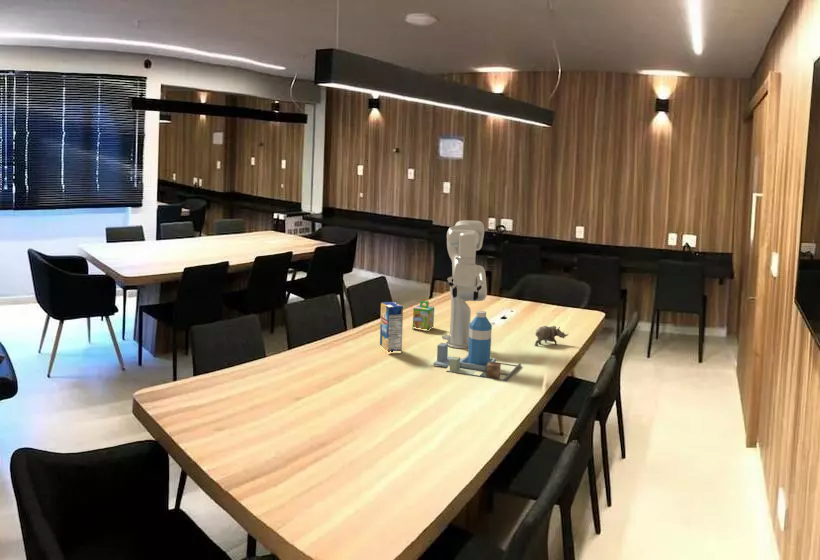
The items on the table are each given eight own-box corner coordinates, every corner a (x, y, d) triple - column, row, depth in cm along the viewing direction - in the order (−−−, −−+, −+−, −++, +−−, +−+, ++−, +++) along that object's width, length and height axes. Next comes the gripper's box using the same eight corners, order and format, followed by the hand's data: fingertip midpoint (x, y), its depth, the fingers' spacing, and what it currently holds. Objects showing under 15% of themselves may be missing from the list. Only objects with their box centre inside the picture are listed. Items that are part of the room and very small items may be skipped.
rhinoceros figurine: (524, 337, 336) (543, 313, 335) (543, 351, 341) (562, 328, 340) (530, 343, 328) (550, 318, 327) (550, 357, 333) (569, 333, 332)
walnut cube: (486, 376, 276) (487, 364, 275) (487, 373, 280) (488, 361, 280) (498, 378, 274) (499, 366, 274) (500, 374, 279) (500, 362, 278)
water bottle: (478, 373, 284) (481, 315, 280) (463, 367, 291) (465, 311, 287) (494, 369, 290) (497, 312, 286) (478, 364, 297) (481, 308, 293)
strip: (448, 373, 282) (448, 359, 281) (453, 369, 288) (453, 355, 287) (472, 377, 278) (472, 362, 277) (476, 373, 283) (477, 359, 282)
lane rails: (445, 374, 281) (446, 369, 281) (463, 360, 302) (464, 355, 302) (506, 384, 271) (506, 378, 271) (520, 369, 292) (521, 363, 291)
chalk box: (412, 329, 355) (412, 302, 353) (417, 326, 364) (418, 299, 362) (428, 331, 353) (429, 303, 350) (434, 327, 361) (435, 300, 359)
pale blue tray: (433, 365, 293) (433, 347, 291) (443, 358, 304) (444, 340, 303) (486, 373, 283) (487, 354, 282) (495, 365, 295) (496, 347, 293)
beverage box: (387, 354, 308) (388, 307, 305) (379, 348, 318) (380, 302, 315) (401, 353, 311) (403, 306, 307) (393, 347, 321) (394, 301, 317)
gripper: (445, 259, 298) (443, 297, 302) (482, 264, 291) (480, 302, 295) (451, 257, 305) (450, 294, 309) (488, 261, 298) (486, 299, 301)
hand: (465, 298), depth 302 cm, fingers open, 9 cm apart
